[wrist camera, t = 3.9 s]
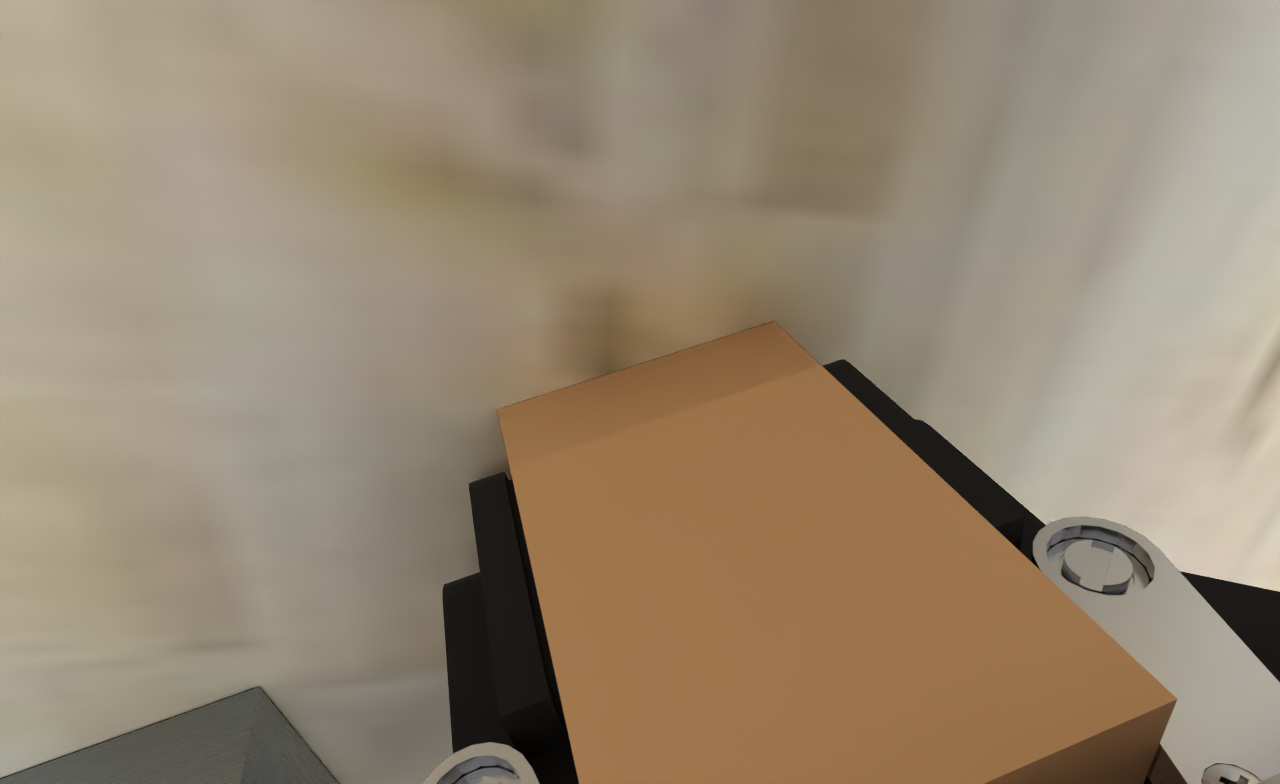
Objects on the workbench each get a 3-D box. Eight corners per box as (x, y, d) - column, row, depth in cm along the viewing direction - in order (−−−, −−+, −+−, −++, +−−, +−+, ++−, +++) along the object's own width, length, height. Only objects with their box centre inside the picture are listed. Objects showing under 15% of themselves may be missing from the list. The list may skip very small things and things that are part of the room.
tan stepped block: (496, 409, 10) (614, 943, 5) (773, 320, 11) (1177, 698, 5) (618, 739, 15) (749, 1198, 10) (806, 665, 16) (1033, 1054, 10)
